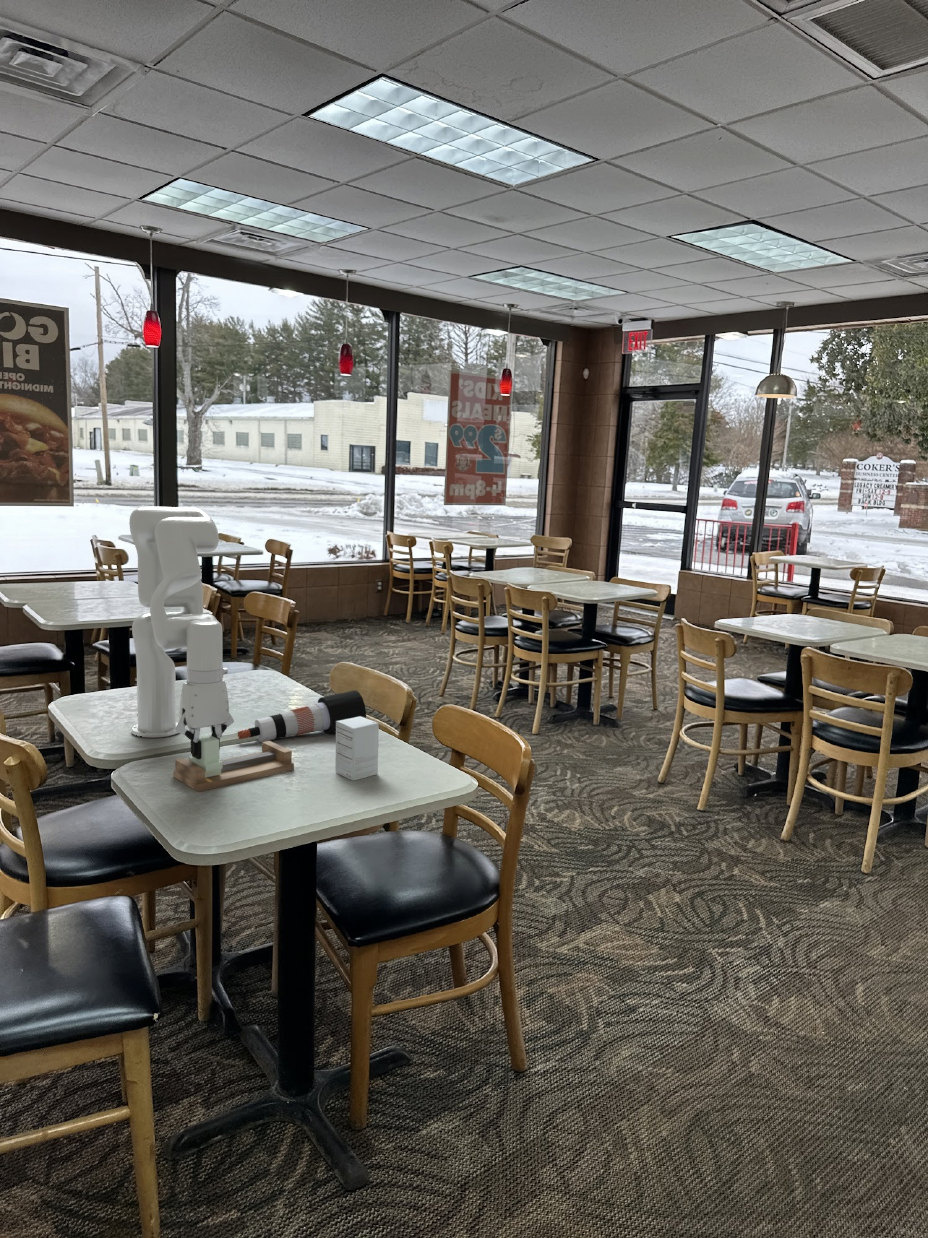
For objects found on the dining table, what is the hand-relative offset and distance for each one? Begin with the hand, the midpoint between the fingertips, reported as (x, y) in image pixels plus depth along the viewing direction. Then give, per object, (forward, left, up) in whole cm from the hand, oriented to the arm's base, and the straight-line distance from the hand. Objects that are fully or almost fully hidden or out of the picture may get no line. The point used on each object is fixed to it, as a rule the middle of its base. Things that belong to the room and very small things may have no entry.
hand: (205, 755), depth 192 cm
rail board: (0, +7, -6) cm, 9 cm away
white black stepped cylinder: (-16, +36, -6) cm, 39 cm away
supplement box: (+17, +29, -6) cm, 34 cm away
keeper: (0, 0, -4) cm, 4 cm away
